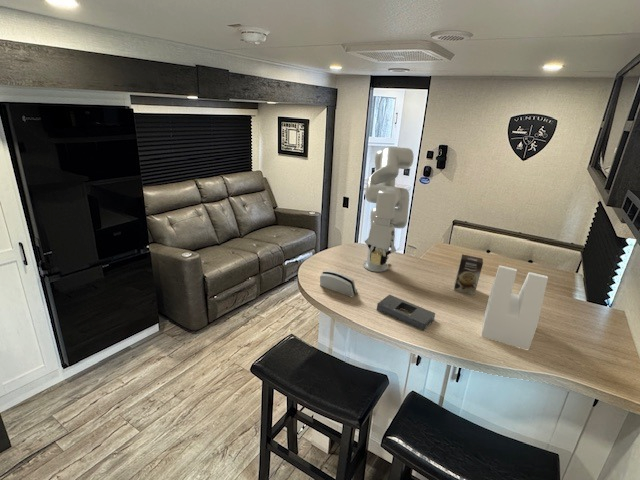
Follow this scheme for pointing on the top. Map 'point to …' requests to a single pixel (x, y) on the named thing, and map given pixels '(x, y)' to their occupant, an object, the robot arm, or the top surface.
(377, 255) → the brass cube
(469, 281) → the coffee box
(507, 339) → the white slotted block
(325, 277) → the hinge
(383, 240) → the robot arm
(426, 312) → the grey square hole block
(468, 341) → the top surface
